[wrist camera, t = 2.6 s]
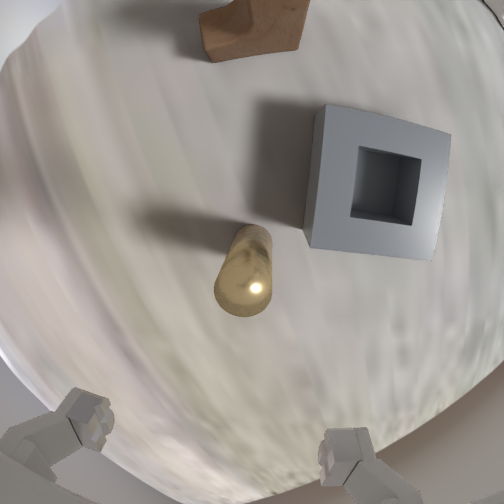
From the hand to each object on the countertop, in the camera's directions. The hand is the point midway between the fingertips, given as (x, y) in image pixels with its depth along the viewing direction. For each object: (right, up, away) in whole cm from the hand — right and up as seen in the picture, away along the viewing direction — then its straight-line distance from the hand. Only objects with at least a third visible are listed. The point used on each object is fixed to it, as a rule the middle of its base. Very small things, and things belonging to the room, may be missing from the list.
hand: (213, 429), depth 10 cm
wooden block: (+1, +28, +16) cm, 33 cm away
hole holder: (+13, +14, +20) cm, 28 cm away
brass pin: (+2, +7, +23) cm, 24 cm away
